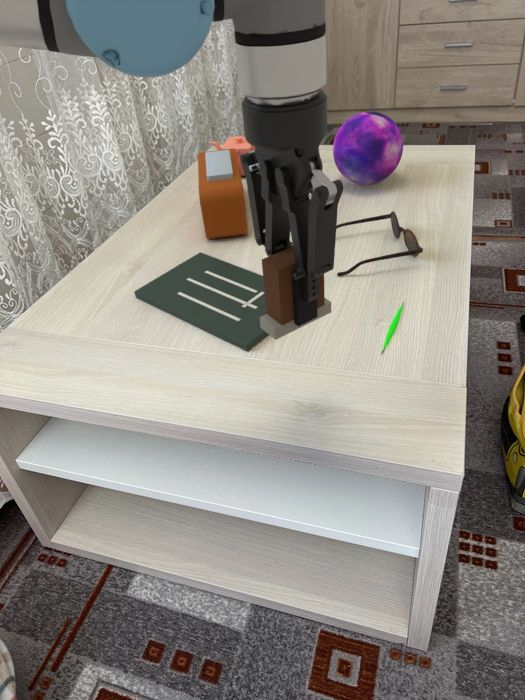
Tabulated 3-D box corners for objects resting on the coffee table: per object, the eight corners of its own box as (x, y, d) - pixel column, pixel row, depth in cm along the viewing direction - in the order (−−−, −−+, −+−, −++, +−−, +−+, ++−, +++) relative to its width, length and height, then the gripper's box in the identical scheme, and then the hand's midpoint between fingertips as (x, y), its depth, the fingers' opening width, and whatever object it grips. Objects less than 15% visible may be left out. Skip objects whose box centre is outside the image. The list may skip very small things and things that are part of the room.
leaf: (406, 304, 87) (406, 299, 87) (384, 358, 78) (384, 353, 77) (400, 303, 88) (401, 299, 87) (377, 356, 78) (377, 352, 78)
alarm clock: (248, 237, 109) (242, 182, 101) (206, 243, 108) (197, 187, 101) (240, 189, 127) (234, 140, 120) (204, 194, 127) (196, 144, 120)
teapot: (267, 180, 130) (264, 145, 125) (206, 181, 133) (201, 146, 128) (276, 162, 139) (274, 128, 134) (219, 162, 142) (214, 129, 137)
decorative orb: (346, 200, 118) (346, 128, 109) (324, 175, 130) (323, 109, 120) (411, 188, 120) (418, 117, 110) (384, 165, 131) (388, 98, 122)
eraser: (275, 340, 61) (269, 273, 55) (260, 327, 63) (253, 262, 57) (331, 312, 64) (331, 247, 58) (315, 301, 66) (313, 237, 60)
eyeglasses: (421, 264, 95) (424, 238, 92) (338, 279, 94) (339, 253, 91) (390, 228, 107) (392, 203, 104) (316, 240, 105) (316, 216, 102)
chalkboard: (135, 297, 95) (133, 291, 94) (201, 257, 104) (200, 251, 103) (247, 351, 81) (246, 344, 80) (312, 300, 90) (311, 293, 89)
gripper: (381, 98, 44) (369, 332, 59) (265, 70, 55) (280, 273, 69) (307, 122, 41) (314, 361, 56) (200, 87, 52) (230, 295, 66)
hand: (295, 312), depth 63 cm, fingers closed on eraser, 3 cm apart
